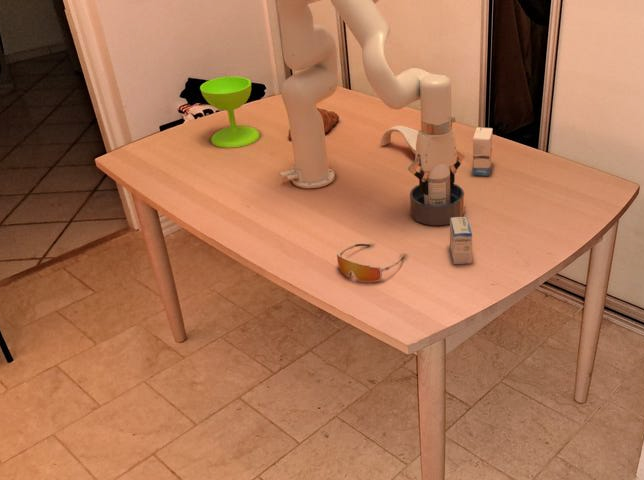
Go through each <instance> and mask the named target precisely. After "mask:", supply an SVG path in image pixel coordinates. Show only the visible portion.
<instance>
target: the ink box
mask: <svg viewBox="0 0 644 480" xmlns="http://www.w3.org/2000/svg"><path fill="white" fill-rule="evenodd" d="M493 130H494V129H493V128H492V127H480V126H479V127H476V128H475V132H474V133H473V138H472V176H476V177H477V176H480V177H490V173H491V170H492V165H493V164H492V163H493V161H492V160H493Z"/></svg>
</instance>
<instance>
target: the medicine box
mask: <svg viewBox="0 0 644 480" xmlns="http://www.w3.org/2000/svg"><path fill="white" fill-rule="evenodd" d="M449 250H450V254H451V258H452V263H453V265H466V264H472V261H473V259H472V258H473V232H472V229H471V225H470V222H469V217H468V216H462V217H454V218H450V224H449Z"/></svg>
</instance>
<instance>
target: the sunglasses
mask: <svg viewBox="0 0 644 480" xmlns="http://www.w3.org/2000/svg"><path fill="white" fill-rule="evenodd" d="M371 246H372V244H371V243H366V242H365V243H363V242H362V243H361V242H360V243H354V244H352V245H350V246H347V247H345V248H344V249H341V251H339V252H338V253H337V254H336V258H337V264H338V267H339V269H340V271H341V273H342V275H344V276H345V277H347V278H350V277H351V276H352V274H353V275H354V277H355V279H356V280H357V281H358V282H360V283H375V282H379V281H381V280H382V278H383V273H384V272H386V271H389V270H390V269H391V268H393V267H395V266H397V265H398V264H400V263H401V261H402V260H403V259H404V258H405V254H402V256H401V257H400V258H399V259H398V260H396V261H395V262H393V263H391V264H389V265H386V266H382V267H381V266H374V265H370V264H367V263H360V262H358V261H354V260H351V259H349V258H347V257H344V256H343V254H344V253H345V252H346V251H348V250H349V251H350V250H351V249H354V248H357V247H371Z"/></svg>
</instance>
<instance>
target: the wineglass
mask: <svg viewBox="0 0 644 480" xmlns="http://www.w3.org/2000/svg"><path fill="white" fill-rule="evenodd" d="M199 90H200V92H201V95H202V97H203V98H204V100H205V101H206V102H207V103H208V104H209V105H210V106H211V107H212V108H215V109H217V110H220V111H227V115H228V120H229V127H228V126H227V127H225V128H222V129H219V130H217V131H216V132H215V133H213V135H212V136H211V138H210V143H211V144H212V145H214V146H216V147H219V148H226V149H229V148H232V149H233V148H234V149H235V148H240V147H245V146H249V145H251V144H253V143H254V142H257V140H259V139H260V137H261V134H260V132H259V131H258V130H257V129H256V128H254V127H251V126H247V125H237V121H236V117H235V110H237V109H239V108H241V107H243V106H244V105H245V104H246V103H247V101H248V99H250V96H251V94H252V93H251V92H252V81H251V80H250V79H249V78H246V77H244V76H243V77H242V76H222V77H216V78H213V79H209V80H207V81H205V82H203V83H202V84H201V85H200V87H199Z"/></svg>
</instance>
